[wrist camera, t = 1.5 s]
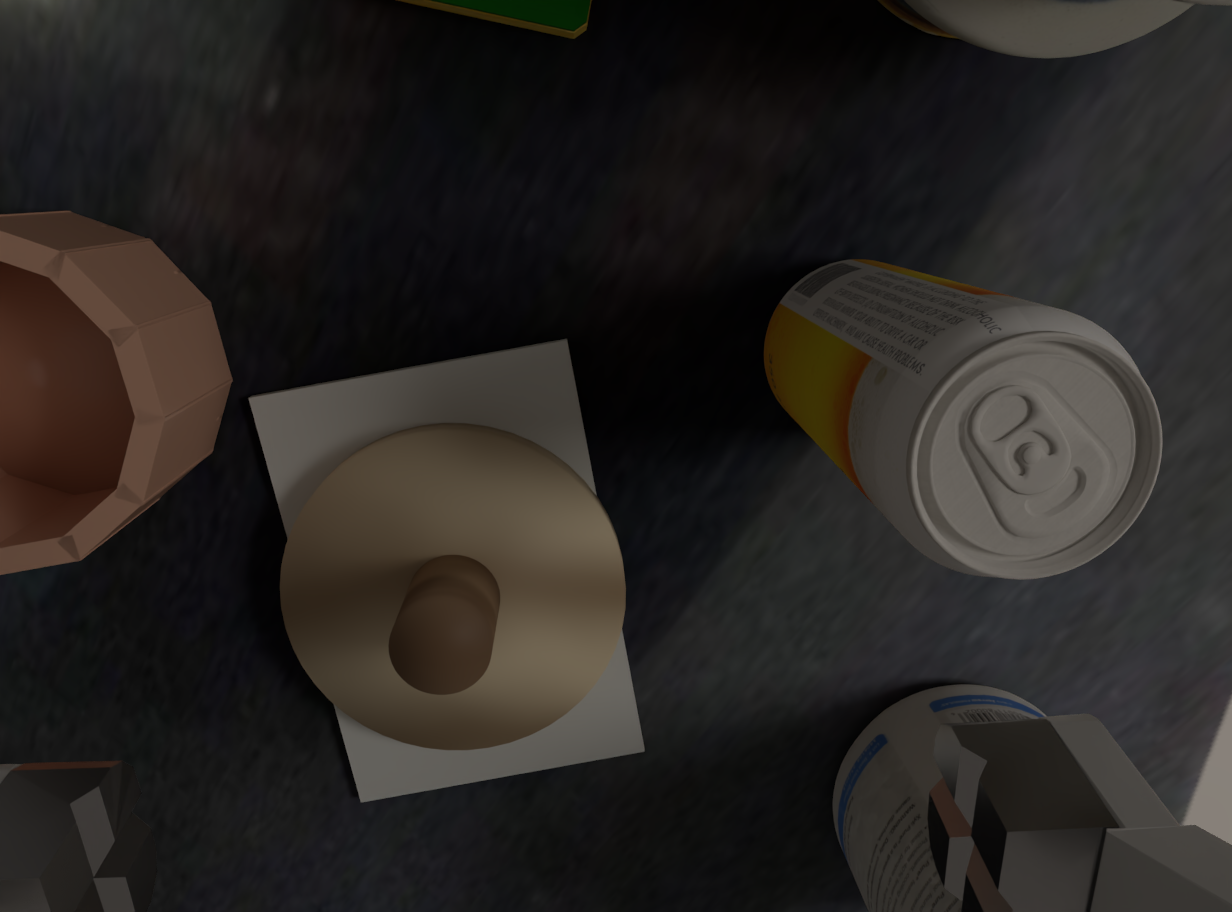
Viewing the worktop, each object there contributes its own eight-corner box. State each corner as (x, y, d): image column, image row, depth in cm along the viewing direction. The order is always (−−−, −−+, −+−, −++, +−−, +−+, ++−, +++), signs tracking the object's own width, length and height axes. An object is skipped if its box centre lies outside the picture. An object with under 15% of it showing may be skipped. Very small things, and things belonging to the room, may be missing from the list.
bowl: (261, 481, 36) (202, 539, 30) (-20, 531, 36) (-133, 599, 30) (179, 190, 33) (97, 192, 27) (-124, 245, 33) (-271, 258, 27)
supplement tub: (911, 926, 42) (1086, 1308, 28) (778, 769, 40) (894, 1097, 26) (1111, 794, 41) (1401, 1123, 26) (985, 624, 38) (1228, 884, 24)
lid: (648, 702, 38) (660, 781, 33) (335, 758, 38) (300, 845, 33) (591, 394, 35) (595, 429, 30) (250, 456, 35) (196, 502, 30)
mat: (644, 745, 39) (644, 751, 39) (362, 796, 39) (361, 802, 39) (566, 338, 35) (567, 340, 35) (252, 395, 35) (248, 398, 35)
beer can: (824, 464, 37) (992, 650, 22) (724, 331, 35) (833, 437, 21) (965, 360, 36) (1234, 482, 21) (868, 220, 34) (1086, 249, 20)
